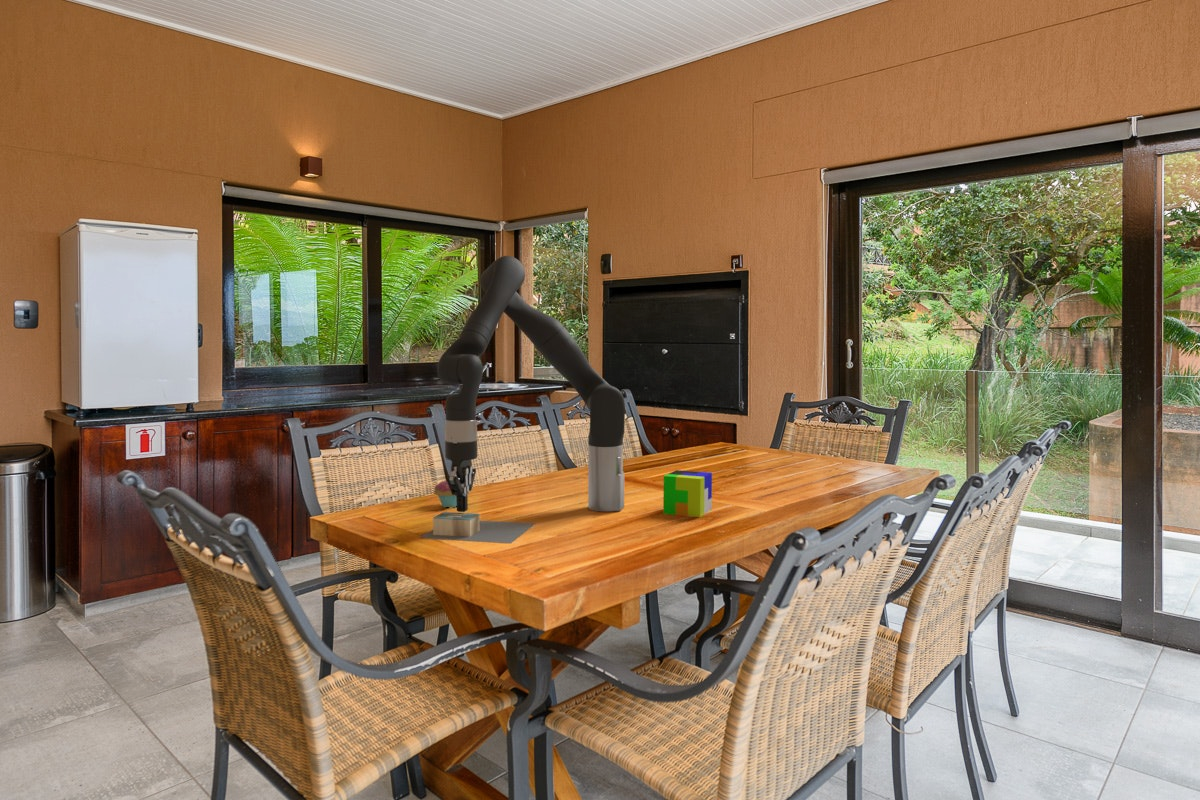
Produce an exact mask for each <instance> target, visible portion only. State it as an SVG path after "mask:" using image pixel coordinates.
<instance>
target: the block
mask: <svg viewBox="0 0 1200 800" xmlns="http://www.w3.org/2000/svg"><path fill="white" fill-rule="evenodd" d="M479 521H480V513H471V512H469V513H468V512H451V511H449V512H448V511H443V512H441V513H438V515H435V516H433V518H432V527H433V528H432V530H433V535H448V536H465V537H470V536H472V535H473V534H475V533H476V532H478V531H479V530H480V528H479Z"/></svg>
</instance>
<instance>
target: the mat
mask: <svg viewBox="0 0 1200 800" xmlns="http://www.w3.org/2000/svg"><path fill="white" fill-rule="evenodd" d="M536 524H537V523H534V522H517V521H516V522H515V521H514V522H512V521H496V520H479V528H480V530H479V531H478V532H476V533H475V534H473V535H472V536H470V537H465V536H448V535H433V529H431V531H429V532H426V533H425V534H423V535H421V536H419V537H418V539H426V540H427V539H428V540H443V541H444V540H445V541H458V542H459V541H463V542H476V543H477V542H478V543H479V542H480V543H481V542H482V543H493V544H494V543H497V544H512V543H514V542H515V541H516V540H517V539H518V538H520V537H521V536H522V535H523V534H525V533H527V531H529V530H531V528H532V527H534V526H535V525H536Z"/></svg>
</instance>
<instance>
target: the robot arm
mask: <svg viewBox="0 0 1200 800" xmlns="http://www.w3.org/2000/svg"><path fill="white" fill-rule="evenodd" d="M525 278H526V271H525V267H524V266H523V264H522V262H521V261H520V260H518V259H517V258H515V256H512V255H501V256H500V257H498V258H496V259H494V261H493V262H491V264H490V265H489V266H488V267H487V268H486V269H485V270H483V272H482V273H481V275H480V278H479V284H480V287H481V289H482V290H483V292H484V295H483V297H481V300H480V301H479V302H478V304H477V305H476V307H475V308H474V310H473V311H472V313H471V314H470V315H469V317H468V319H467V320H466V322H465V324H464V327H463V328H462V330H461V332H460V334H459V336H458V338H457V339H456V340H454V341H453V343H452V344H451V345H450V346H449V347H447V349H446V350H445V351H444V352H443V354H442V355H441V356H440V359H439V361H438V362H437V368H436V371H437V377H438V378H439V379H440V381H441V382H442V383H445V384H449V385H462V386H461V388H460V391H459V393H455V394H451V395H447V397H446V399H445V424H444V425H445V426H444V457H445V459H446V460H448V461H451V465H450V475H447V476H446V478H445V479H446V480H445V481H447V483H448V485H449V488H450V490H451V493H452V495H455V496H457V507H456V512H457V513H466V511H467V512H468V509H469V506H468V504H469V503H468V496H469V494H470V492H472V489H473V485H474V481H475V477H476V474H477V473H476V472H477V469H476V468H473V466H472V465H473V464H472V460H475V459H477V458H478V425H477V413H476V412H477V410H476V409H477V407H476V405H477V399H478V395H479V389H480V386H481V383H482V380H483V379H482V378H483V373H484V366H483V363H482V361H481V359H480V356H482V355H484V353H485V351H486V349H487V348H488V346H489V344H490V341H491V339H492V337H493V335H494V332H495V330H496V328H497V326H498V323H500V322H499V321H500V320H501V318H502V316H503V313H504V314H505V315H506V316H507V317H508V318H509V319H510V320H511V321H512V322H513V324H515V326H517V327H518V329H520V330H521V332H522V333H523V334H524V335H525V336H526V337H527V338H528V339H529V341H530V342H531V343H532V344H533V346H534V347H535V349H537V351H538V352H539V353H540V354H541V355H542V357H543V358H544V359H545V360H546V361H547V362H548V363H549V364H550V365H551V366H552V367H553V368H554V370H556V371H557V372H558V373H559V374H560V375H561V376H562V377H564V379H565V380H566V381H568V382H569V384H571V386H572V387H573V388H574V390H575V392H577V394H578V395H579V397H580V398H581V400H582V401H583V402H584V405H586V407H587V408H588V411H589V433H588V438H587V439H588V441H587V442H588V445H587V446H588V452H587V453H588V461H587V463H588V465H587V466H588V478H587V479H588V481H587V482H588V487H587V489H588V490H587V492H588V499H587V502H588V505H587V507H588V509H589V510H591V511H595V512H621V511H622V510H623V508H624V507H625V471H623V469H624V467H623V464H624V462H623V461H624V460H623V457H624V453H623V447H624V446H623V445H624V436H625V421H626V420H625V419H626V418H625V415H626V408H625V407H626V404H625V397H624V395H623V393H622V392H621V391H620V390H619V389H618V388H617V387H616V386H613V385H611V384H609V383H608V382H607V381H606V380H605V379H604V378H603V377H602V376H601V375H600V374H599V373H598V371H596V370H595V369H594V368H593V366H592V365H591V363H590V362H589V360H588V359H587V357H586V356H585V353H584V352H583V350H582V349H581V347H580V345H579V344H578V342H577V341H576V340H575V338H574V337H573V336H572V335H571V333H570V332H569V331H568V329H566V328H565V326H564V325H563V324H562V323H561V322H560V321H559V320H558V319H556V318H555V317H553V316H551V315H549V314H547V313H544V312H543V311H540V310H538V309H536V308H534V307H533V306H531V305H530V304H529V303H527V302H526V301H525V300H524V299H523V297H522V296H521V295H520V294H519V293H518V292H517V291H518V290H519V288H521V286H522V285H523V283H524V282H525Z"/></svg>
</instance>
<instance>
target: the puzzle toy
mask: <svg viewBox="0 0 1200 800" xmlns="http://www.w3.org/2000/svg"><path fill="white" fill-rule="evenodd" d="M712 485H713V473H712V472H705V471H691V470H679V469H676V470H673V471H672V472H669V473H668V474H665V475H663V503H662V504H663V507H662V508H663V512H662V513H663V514H664V515H673V516H674V515H675V516H684V517H685V516H686V517H694V518H701V517H703V516H705V515H706V514H707V513H709V512H710V511H712V510H713V509H712V501H713V500H712V499H713V498H712V497H713V495H712V494H713V491H712V490H713V486H712Z"/></svg>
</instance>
